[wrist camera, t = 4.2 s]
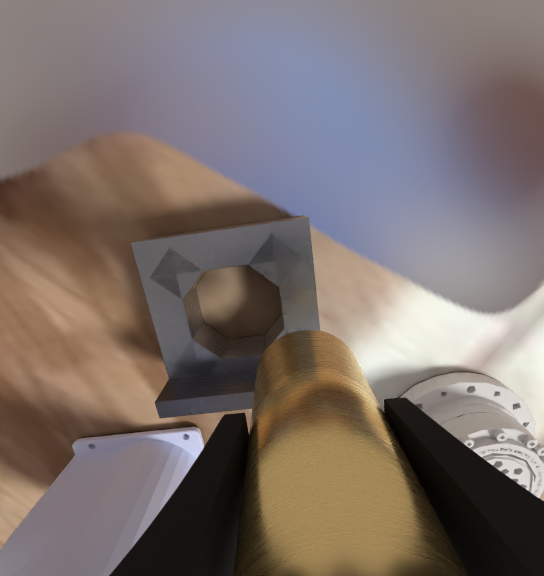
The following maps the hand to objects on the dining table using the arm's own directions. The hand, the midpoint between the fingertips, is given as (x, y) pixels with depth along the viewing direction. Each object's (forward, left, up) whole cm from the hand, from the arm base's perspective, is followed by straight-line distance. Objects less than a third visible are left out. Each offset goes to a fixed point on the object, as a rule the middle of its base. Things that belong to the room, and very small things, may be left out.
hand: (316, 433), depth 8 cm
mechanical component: (+10, -11, -10) cm, 18 cm away
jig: (-3, +1, -10) cm, 10 cm away
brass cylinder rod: (0, 0, -3) cm, 3 cm away
